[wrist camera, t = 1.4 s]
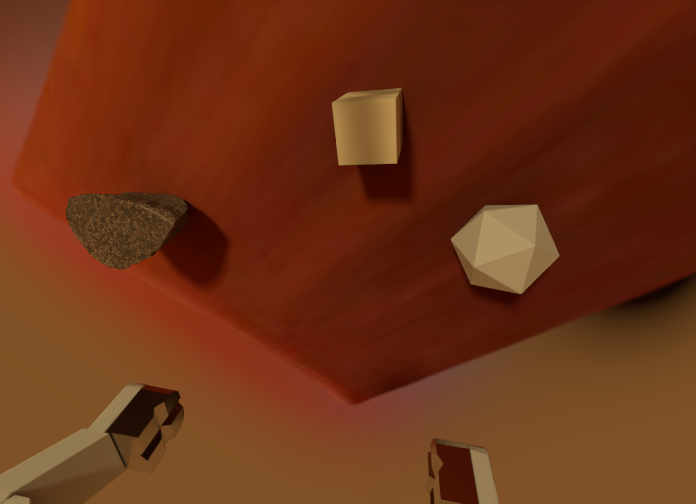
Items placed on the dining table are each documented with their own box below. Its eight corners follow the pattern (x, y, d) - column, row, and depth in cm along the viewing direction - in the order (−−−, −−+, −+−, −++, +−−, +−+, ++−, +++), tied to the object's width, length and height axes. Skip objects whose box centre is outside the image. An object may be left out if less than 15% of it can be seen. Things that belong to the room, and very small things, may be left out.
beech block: (402, 88, 30) (395, 98, 25) (402, 144, 33) (396, 163, 28) (348, 92, 31) (332, 102, 26) (352, 146, 34) (338, 165, 29)
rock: (178, 182, 35) (172, 273, 35) (211, 199, 45) (207, 269, 45) (60, 175, 34) (53, 267, 34) (119, 193, 44) (115, 265, 44)
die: (435, 231, 37) (461, 313, 33) (461, 183, 30) (499, 282, 26) (503, 222, 38) (537, 302, 34) (546, 173, 31) (596, 269, 26)
